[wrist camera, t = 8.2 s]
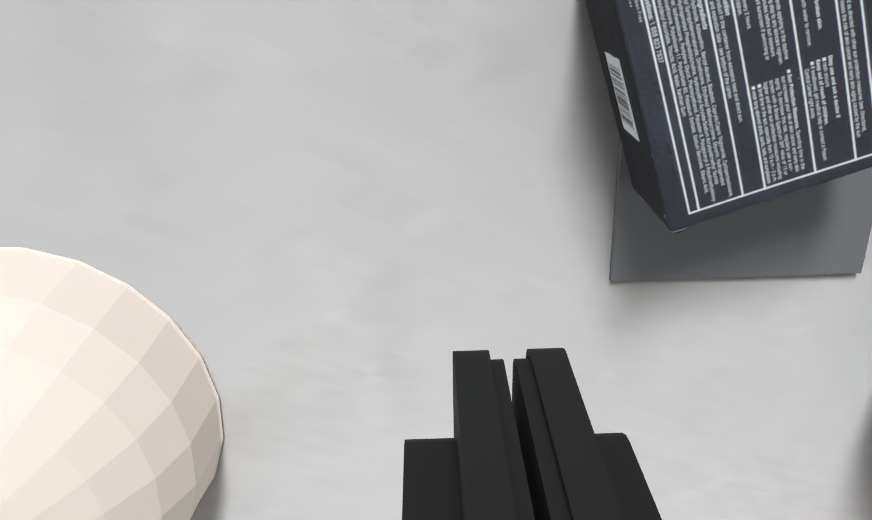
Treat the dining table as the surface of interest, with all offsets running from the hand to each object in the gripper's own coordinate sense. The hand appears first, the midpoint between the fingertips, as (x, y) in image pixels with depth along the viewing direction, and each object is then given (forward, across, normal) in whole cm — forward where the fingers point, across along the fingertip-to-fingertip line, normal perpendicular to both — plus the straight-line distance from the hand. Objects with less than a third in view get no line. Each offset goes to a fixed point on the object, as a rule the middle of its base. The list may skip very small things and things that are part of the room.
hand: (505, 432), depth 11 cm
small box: (+22, -7, 0) cm, 23 cm away
